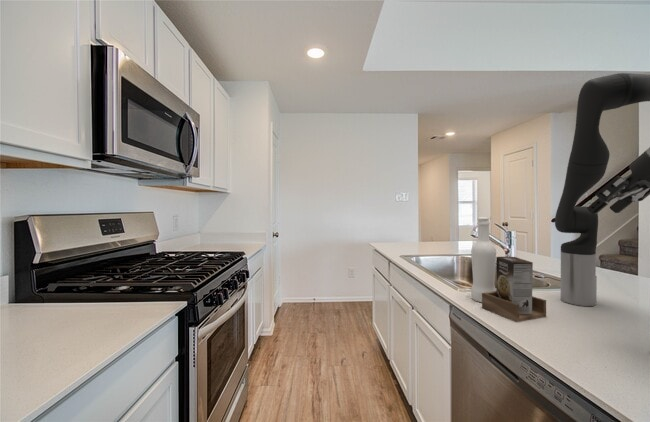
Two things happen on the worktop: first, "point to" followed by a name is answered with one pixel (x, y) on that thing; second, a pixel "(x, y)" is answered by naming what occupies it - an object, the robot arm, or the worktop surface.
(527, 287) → the coffee box
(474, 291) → the bottle
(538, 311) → the holder
